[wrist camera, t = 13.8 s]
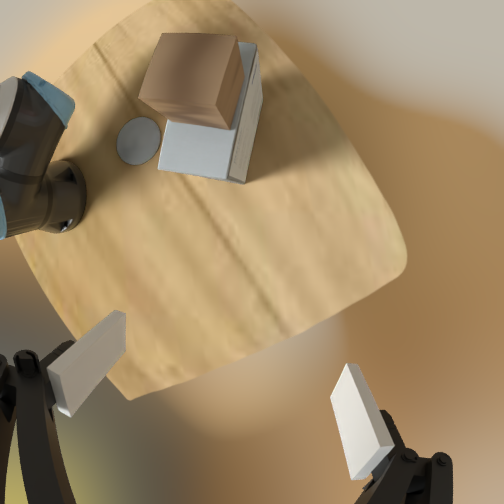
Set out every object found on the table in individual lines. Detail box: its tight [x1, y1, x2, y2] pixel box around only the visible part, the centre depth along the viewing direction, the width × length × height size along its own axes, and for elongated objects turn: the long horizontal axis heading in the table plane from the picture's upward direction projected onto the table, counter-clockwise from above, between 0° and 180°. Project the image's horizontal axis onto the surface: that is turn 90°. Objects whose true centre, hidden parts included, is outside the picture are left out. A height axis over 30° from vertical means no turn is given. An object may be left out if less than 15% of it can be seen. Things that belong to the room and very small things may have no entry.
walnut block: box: [138, 33, 245, 130], centre depth 20 cm, size 6×6×8 cm
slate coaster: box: [117, 117, 161, 165], centre depth 44 cm, size 9×9×1 cm
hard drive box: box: [158, 42, 263, 184], centre depth 33 cm, size 16×8×20 cm, turn 169°
